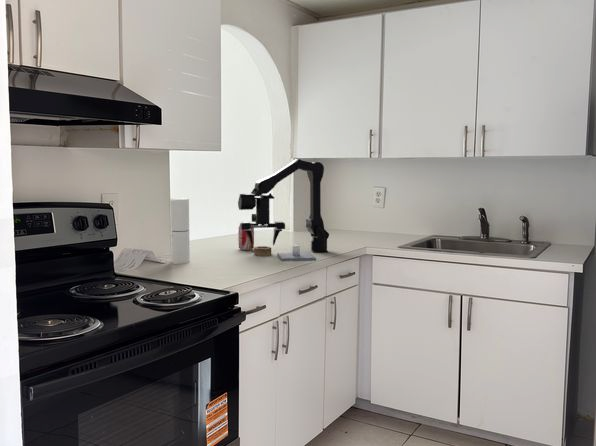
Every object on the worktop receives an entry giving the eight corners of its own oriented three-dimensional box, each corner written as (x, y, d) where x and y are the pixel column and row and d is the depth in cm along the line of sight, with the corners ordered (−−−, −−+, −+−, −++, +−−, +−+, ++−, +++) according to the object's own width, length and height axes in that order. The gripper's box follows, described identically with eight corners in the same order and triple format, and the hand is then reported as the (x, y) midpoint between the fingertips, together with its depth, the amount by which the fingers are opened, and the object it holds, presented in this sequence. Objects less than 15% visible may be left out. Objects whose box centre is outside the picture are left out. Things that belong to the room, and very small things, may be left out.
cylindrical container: (180, 264, 214) (179, 199, 211) (167, 262, 217) (166, 198, 215) (193, 261, 220) (192, 198, 217) (180, 259, 223) (179, 198, 221)
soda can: (251, 250, 248) (251, 224, 247) (236, 250, 250) (236, 223, 249) (255, 248, 255) (255, 222, 254) (241, 248, 257) (241, 222, 255)
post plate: (309, 254, 239) (309, 243, 239) (315, 260, 225) (315, 247, 225) (277, 255, 237) (277, 243, 236) (281, 260, 223) (281, 248, 223)
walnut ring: (270, 252, 243) (270, 246, 243) (271, 255, 236) (271, 248, 236) (253, 253, 242) (253, 246, 241) (255, 255, 235) (255, 248, 234)
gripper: (281, 207, 246) (281, 242, 248) (239, 208, 243) (240, 243, 245) (285, 209, 235) (285, 246, 237) (241, 210, 232) (241, 246, 234)
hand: (262, 245), depth 238 cm, fingers open, 9 cm apart
